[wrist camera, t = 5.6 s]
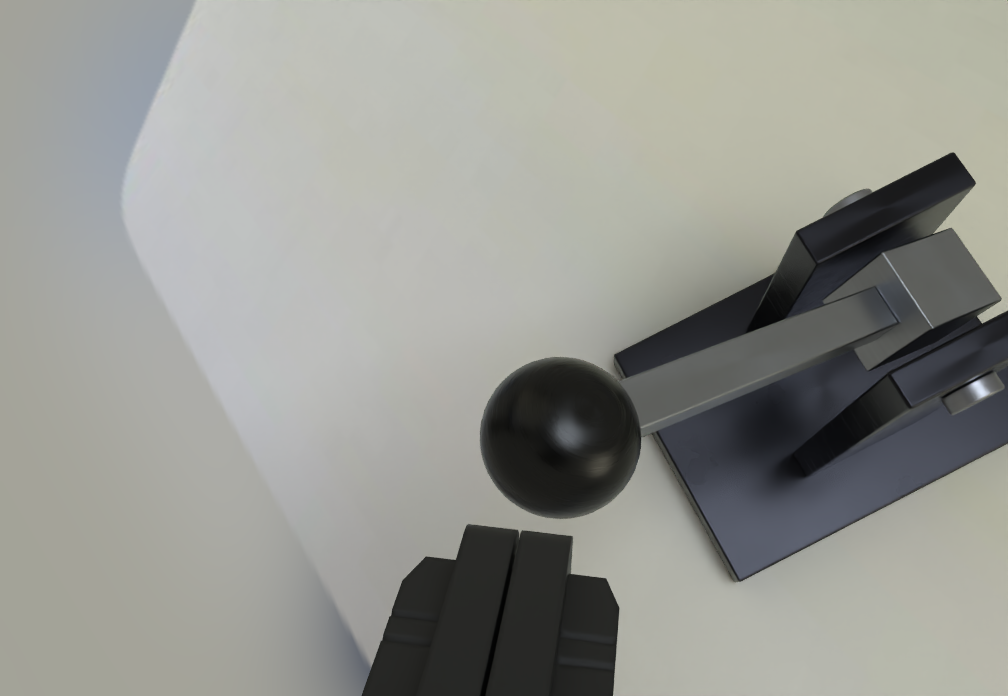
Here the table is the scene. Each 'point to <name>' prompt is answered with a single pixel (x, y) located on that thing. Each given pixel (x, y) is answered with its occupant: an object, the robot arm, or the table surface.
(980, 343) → the black lever base
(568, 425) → the lever handle
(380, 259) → the table surface
